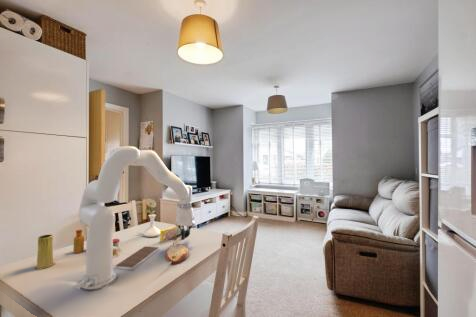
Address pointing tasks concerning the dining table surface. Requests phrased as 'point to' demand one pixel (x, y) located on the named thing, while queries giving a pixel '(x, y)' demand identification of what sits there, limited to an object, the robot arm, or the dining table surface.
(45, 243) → the vase
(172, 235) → the candy box
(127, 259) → the board
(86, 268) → the robot arm
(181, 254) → the slice of bread
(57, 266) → the dining table surface
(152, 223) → the flower in vase
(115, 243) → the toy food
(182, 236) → the knife
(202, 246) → the dining table surface
